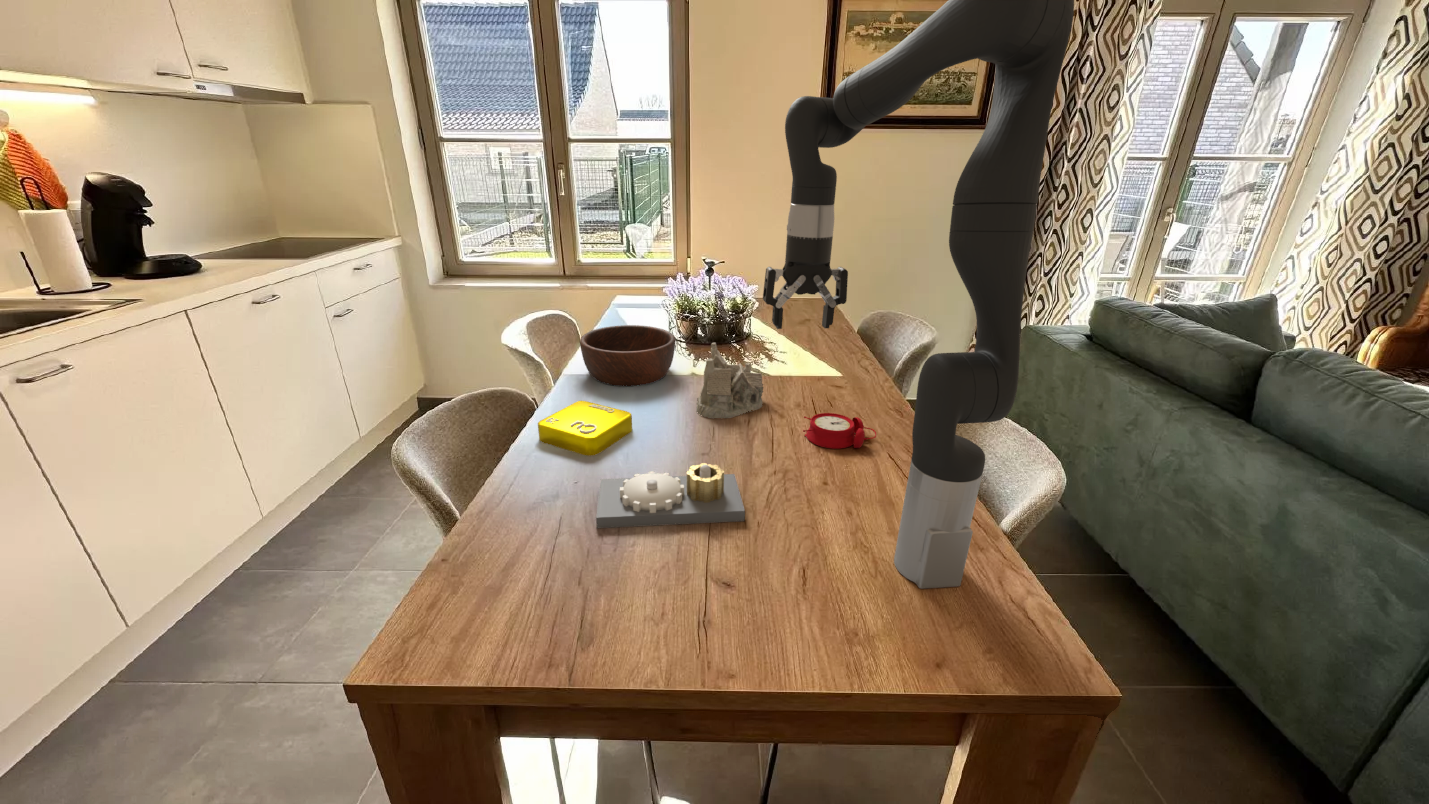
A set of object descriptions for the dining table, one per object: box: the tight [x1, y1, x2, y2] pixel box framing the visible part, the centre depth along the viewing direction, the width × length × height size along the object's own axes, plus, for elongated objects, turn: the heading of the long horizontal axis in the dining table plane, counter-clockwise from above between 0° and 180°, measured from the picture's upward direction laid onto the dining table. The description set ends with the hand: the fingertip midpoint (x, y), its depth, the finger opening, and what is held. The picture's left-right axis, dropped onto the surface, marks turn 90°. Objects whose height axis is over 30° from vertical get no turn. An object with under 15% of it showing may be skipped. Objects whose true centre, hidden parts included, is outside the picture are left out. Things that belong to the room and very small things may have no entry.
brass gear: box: [686, 462, 725, 503], centre depth 101 cm, size 6×6×4 cm
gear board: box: [595, 465, 746, 529], centre depth 100 cm, size 12×24×7 cm, turn 97°
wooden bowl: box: [579, 324, 676, 387], centre depth 158 cm, size 25×25×10 cm
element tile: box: [537, 400, 633, 457], centre depth 125 cm, size 15×15×5 cm
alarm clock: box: [802, 412, 877, 450], centre depth 126 cm, size 10×6×15 cm
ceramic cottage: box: [696, 342, 764, 419], centre depth 139 cm, size 16×16×15 cm
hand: (802, 327), depth 104 cm, fingers open, 8 cm apart
